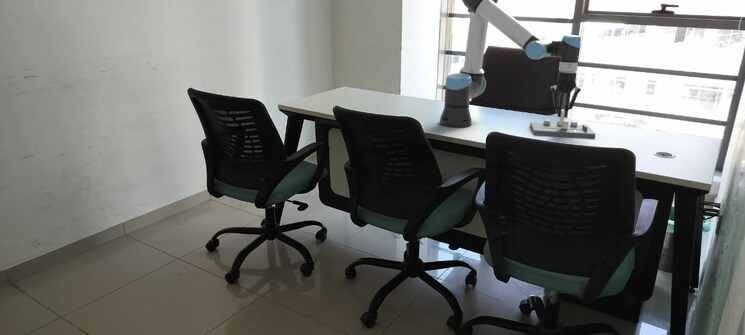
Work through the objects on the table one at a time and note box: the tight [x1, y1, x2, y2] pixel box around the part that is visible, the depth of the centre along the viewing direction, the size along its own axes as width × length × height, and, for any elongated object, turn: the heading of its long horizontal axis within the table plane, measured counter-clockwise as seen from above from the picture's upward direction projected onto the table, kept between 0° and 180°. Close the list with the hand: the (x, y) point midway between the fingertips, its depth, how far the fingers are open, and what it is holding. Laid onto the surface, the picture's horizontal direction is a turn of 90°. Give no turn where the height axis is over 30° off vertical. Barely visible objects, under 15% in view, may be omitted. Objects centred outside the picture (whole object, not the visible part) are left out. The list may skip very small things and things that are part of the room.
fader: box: [562, 119, 570, 129], centre depth 240 cm, size 2×4×3 cm, turn 170°
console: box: [529, 119, 596, 139], centre depth 242 cm, size 26×16×4 cm, turn 80°
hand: (560, 124), depth 240 cm, fingers closed
